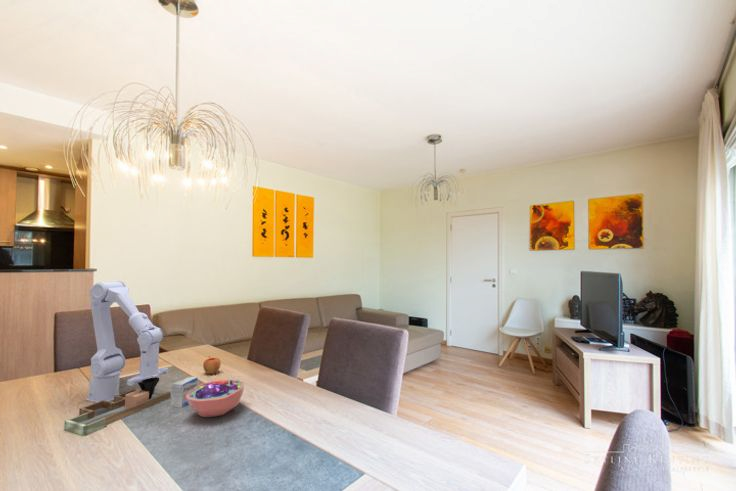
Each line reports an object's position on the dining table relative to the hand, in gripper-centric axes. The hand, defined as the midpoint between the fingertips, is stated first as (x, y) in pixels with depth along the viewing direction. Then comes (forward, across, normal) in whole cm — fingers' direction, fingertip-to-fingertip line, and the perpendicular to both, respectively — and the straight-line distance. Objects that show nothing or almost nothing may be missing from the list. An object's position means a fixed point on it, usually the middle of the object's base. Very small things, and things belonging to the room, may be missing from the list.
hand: (147, 398), depth 123 cm
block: (+1, -4, 0) cm, 4 cm away
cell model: (+2, +4, -29) cm, 29 cm away
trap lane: (+1, -9, +3) cm, 9 cm away
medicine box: (+2, +4, -13) cm, 14 cm away
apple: (+2, +34, +3) cm, 34 cm away
